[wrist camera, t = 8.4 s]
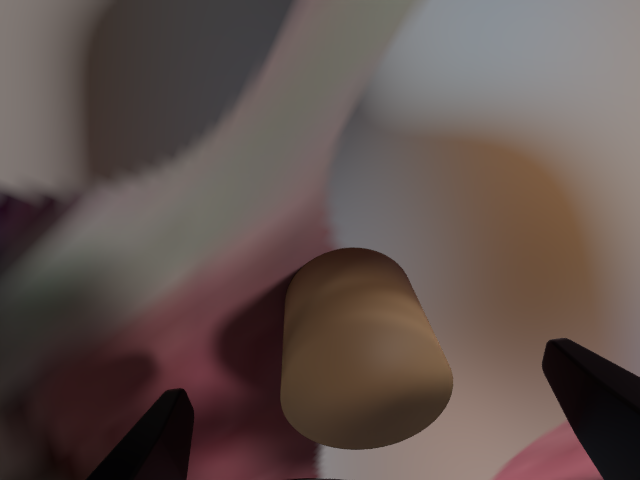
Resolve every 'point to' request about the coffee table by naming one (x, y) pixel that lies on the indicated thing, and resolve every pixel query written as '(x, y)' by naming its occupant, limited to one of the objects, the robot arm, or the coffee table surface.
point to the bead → (359, 353)
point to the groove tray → (319, 479)
